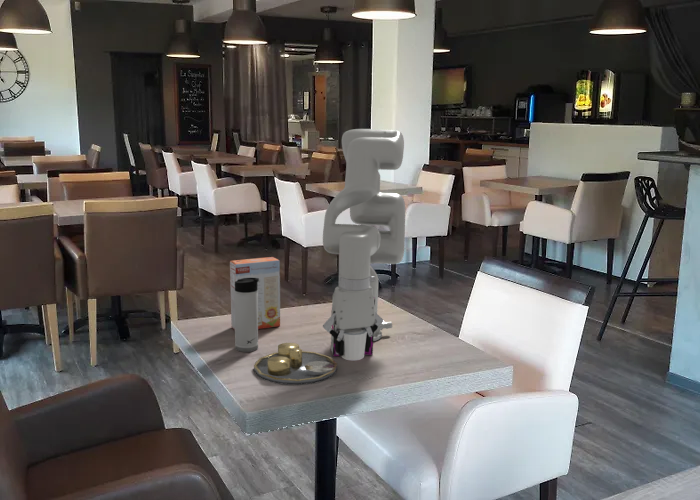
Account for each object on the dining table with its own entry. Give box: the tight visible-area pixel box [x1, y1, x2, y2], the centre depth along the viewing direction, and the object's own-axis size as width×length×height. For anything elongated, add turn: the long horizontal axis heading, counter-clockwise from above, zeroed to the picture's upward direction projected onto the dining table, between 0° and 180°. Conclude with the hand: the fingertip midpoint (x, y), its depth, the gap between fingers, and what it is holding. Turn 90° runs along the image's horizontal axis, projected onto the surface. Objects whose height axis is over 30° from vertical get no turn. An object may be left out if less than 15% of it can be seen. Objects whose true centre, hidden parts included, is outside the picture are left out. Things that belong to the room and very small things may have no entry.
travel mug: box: [234, 278, 259, 353], centre depth 190 cm, size 6×7×20 cm
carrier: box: [253, 342, 338, 386], centre depth 177 cm, size 21×21×5 cm
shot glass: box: [341, 328, 367, 361], centre depth 171 cm, size 7×7×7 cm
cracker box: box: [229, 256, 281, 331], centre depth 209 cm, size 14×6×21 cm, turn 117°
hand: (352, 351), depth 172 cm, fingers closed on shot glass, 6 cm apart
